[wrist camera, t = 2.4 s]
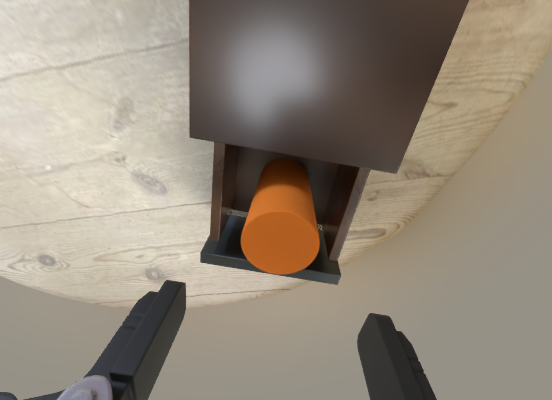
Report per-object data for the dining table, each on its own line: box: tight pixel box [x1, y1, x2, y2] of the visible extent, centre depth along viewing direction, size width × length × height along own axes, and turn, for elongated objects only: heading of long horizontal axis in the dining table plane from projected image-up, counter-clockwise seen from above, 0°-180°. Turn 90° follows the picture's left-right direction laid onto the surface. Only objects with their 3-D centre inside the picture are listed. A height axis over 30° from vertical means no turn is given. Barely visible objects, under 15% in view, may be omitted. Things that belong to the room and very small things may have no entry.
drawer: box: [200, 142, 370, 285], centre depth 21 cm, size 16×12×7 cm
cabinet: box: [189, 0, 469, 174], centre depth 16 cm, size 16×14×9 cm
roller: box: [241, 158, 320, 274], centre depth 19 cm, size 5×5×10 cm
